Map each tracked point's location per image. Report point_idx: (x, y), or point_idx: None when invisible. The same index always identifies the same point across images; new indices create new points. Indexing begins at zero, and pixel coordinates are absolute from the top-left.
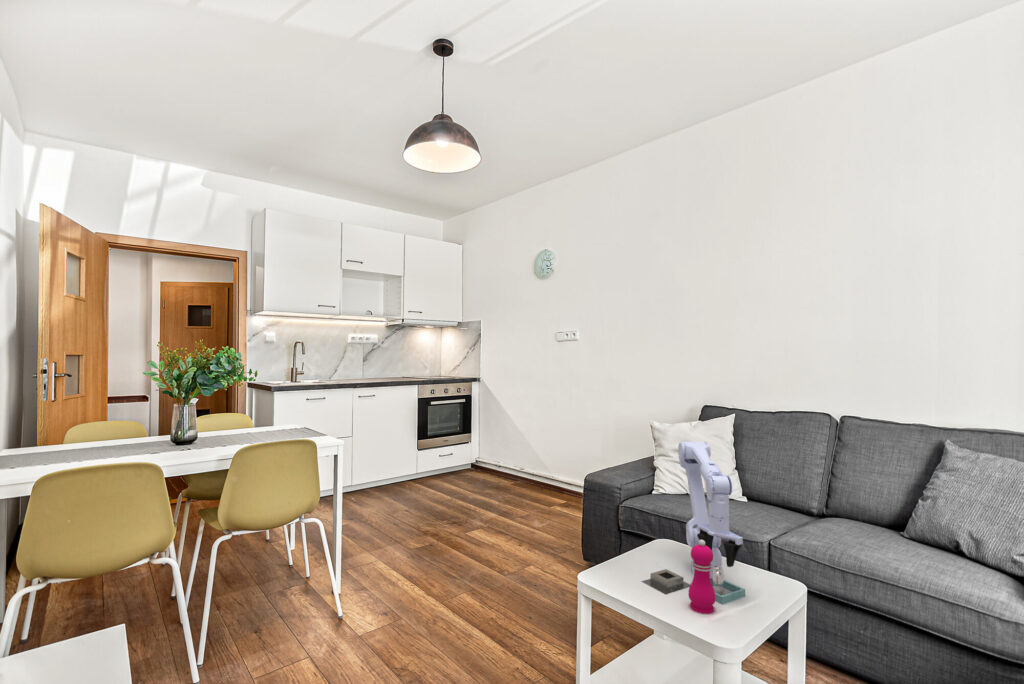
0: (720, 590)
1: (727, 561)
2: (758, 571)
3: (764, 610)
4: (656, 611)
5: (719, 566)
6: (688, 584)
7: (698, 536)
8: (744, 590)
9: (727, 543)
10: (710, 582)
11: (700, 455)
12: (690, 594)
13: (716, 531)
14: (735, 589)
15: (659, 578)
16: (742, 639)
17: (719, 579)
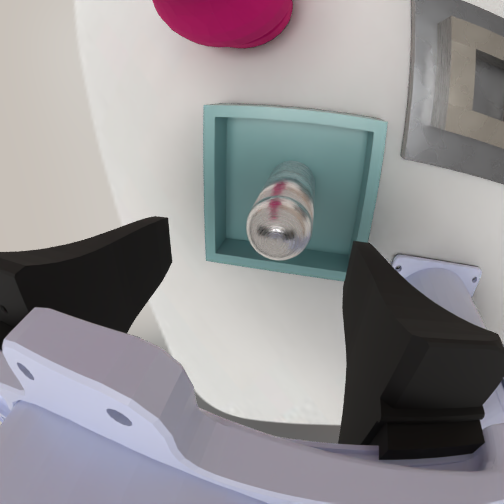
0: (268, 178)
1: (138, 225)
2: (310, 420)
3: None
4: None
5: (259, 236)
6: (424, 155)
7: (482, 334)
8: (207, 254)
9: (3, 291)
10: None
11: None
12: None
13: (18, 431)
14: (248, 251)
15: (497, 34)
16: (79, 11)
17: (262, 191)
